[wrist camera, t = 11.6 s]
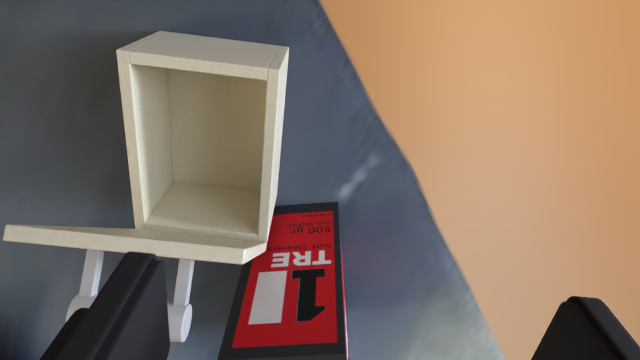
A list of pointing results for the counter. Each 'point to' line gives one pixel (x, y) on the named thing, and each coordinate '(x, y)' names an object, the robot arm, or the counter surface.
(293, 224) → the cleaning product box
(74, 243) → the cool box door
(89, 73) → the counter surface
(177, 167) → the cool box
